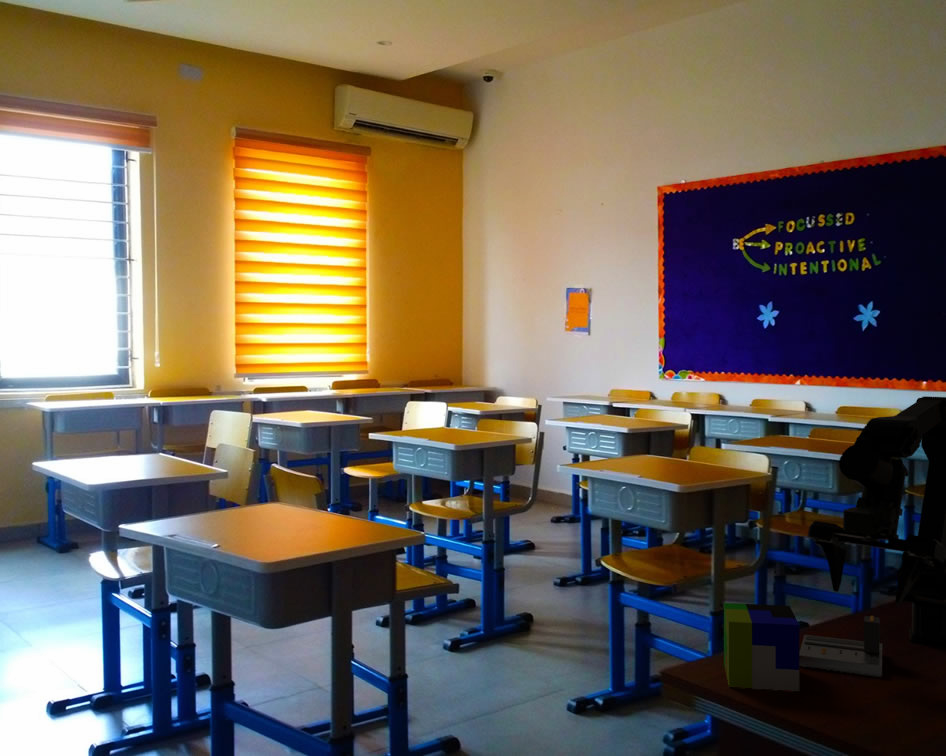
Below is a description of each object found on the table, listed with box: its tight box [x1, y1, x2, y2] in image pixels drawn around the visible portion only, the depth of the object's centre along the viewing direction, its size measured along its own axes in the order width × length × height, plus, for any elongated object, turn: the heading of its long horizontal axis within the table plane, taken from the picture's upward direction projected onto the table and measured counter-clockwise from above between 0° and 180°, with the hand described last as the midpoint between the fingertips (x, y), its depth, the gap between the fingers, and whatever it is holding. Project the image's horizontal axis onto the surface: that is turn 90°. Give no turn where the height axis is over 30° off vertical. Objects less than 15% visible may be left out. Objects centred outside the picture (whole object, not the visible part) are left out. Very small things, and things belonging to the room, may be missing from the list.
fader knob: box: [863, 615, 881, 653], centre depth 144 cm, size 3×2×5 cm
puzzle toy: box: [723, 602, 800, 692], centre depth 138 cm, size 10×10×10 cm
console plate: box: [799, 634, 883, 678], centre depth 145 cm, size 11×12×2 cm
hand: (866, 597), depth 136 cm, fingers open, 9 cm apart
